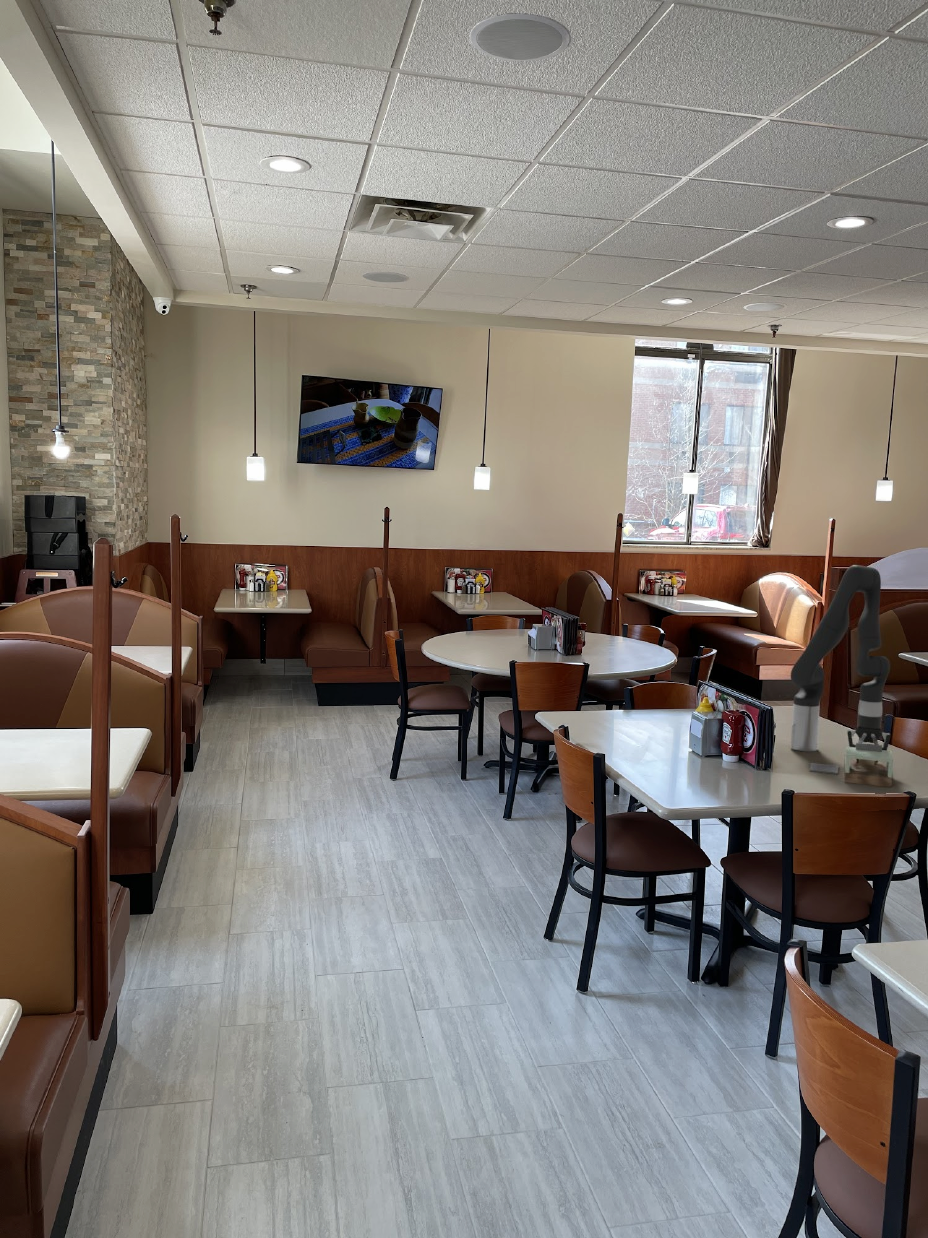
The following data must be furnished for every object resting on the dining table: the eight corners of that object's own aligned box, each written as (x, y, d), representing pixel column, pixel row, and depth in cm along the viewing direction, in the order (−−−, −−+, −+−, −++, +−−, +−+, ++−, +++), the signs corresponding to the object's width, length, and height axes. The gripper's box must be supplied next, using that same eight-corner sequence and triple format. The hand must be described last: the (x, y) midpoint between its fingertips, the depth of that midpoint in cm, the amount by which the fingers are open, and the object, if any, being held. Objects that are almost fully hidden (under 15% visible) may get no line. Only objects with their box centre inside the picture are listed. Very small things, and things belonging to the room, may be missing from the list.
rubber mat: (809, 771, 311) (810, 769, 311) (810, 764, 319) (810, 762, 319) (838, 774, 307) (838, 772, 307) (838, 767, 316) (838, 765, 316)
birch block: (859, 767, 310) (860, 750, 310) (859, 764, 314) (860, 747, 314) (873, 769, 309) (874, 752, 308) (873, 765, 313) (874, 748, 312)
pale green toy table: (845, 772, 298) (846, 748, 297) (845, 764, 308) (846, 740, 307) (891, 777, 292) (893, 753, 292) (890, 768, 303) (891, 745, 302)
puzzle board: (844, 782, 299) (845, 773, 298) (844, 762, 322) (844, 754, 321) (891, 787, 293) (891, 778, 293) (887, 767, 316) (887, 758, 316)
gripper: (892, 713, 310) (889, 760, 312) (847, 709, 315) (844, 756, 317) (893, 717, 303) (890, 766, 305) (847, 713, 309) (844, 761, 311)
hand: (866, 761), depth 311 cm, fingers open, 5 cm apart
